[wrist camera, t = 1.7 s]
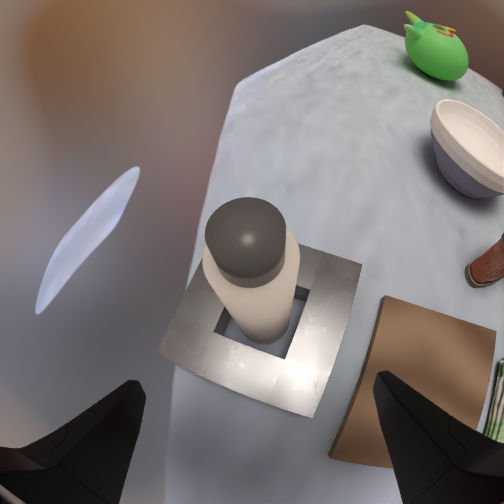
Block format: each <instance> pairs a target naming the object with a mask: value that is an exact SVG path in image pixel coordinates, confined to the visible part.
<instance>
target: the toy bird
mask: <svg viewBox="0 0 504 504" xmlns="http://www.w3.org/2000/svg"><path fill="white" fill-rule="evenodd" d="M406 15H407V16H408V18H409V19H410V21H411V22H412V24H413V26H412V25H409V24H405V25H404V28H405V30H406V31H407V34H406V37H405V46H406V50H407V53H408V55H409V57H410V59H411V60H412V62H413V63H414V64H415V65H416V66H417V67H418V68H419V69H420V70H422V71H423V72H424V73H426V74H428V75H430V76H432V77H434V78H437V79H440V80H446V81H453V80H457V79H459V78H461V77H462V76H463V75H464V74H465V73H466V71H467V68H468V55H467V51H466V49H465V47H464V45H463V43H462V42H461V40H460V39H459V38H458V37H457V36H456V35H455V34H453V33H452V32H451V31H455V30H454V29H451V28H448V27H444V26H440V25H438V24H435V23H425V22H423V21H422V20H421V19H419V18H418V17H417V16H415V15H414V14H412V13H411V12H408V11H406Z"/></svg>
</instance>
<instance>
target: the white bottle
mask: <svg viewBox="0 0 504 504" xmlns="http://www.w3.org/2000/svg"><path fill="white" fill-rule="evenodd" d="M205 240H206V245H205V248H204V252H203V270H204V273H205V276H206V278H207V280H208V282H209V283H210V285H211V286H212V288H213V289H214V291H215V292H216V294H217V295H218V297H219V298H220V300H221V301H222V303H223V304H224V306H225V307H226V309H227V310H228V312H229V313H230V315H231V316H232V317H233V319H234V320H235V322H236V323H237V325H238V326H239V328H240V329H241V330H242V332H243V333H244V335H245V336H246V337H247V338H248V339H249V340H251V341H252V342H254V343H257V344H264V345H265V344H272V343H274V342H276V341H278V340H279V339H281V338H282V337H283V336H284V334H285V333H286V331H287V329H288V326H289V321H290V315H291V310H292V305H293V299H294V293H295V288H296V282H297V276H298V270H299V263H300V251H299V246H298V243H297V241H296V239H295V237H294V235H293V234H292V232H291V231H290V230H289V229H288V228H287V227H286V224H285V220H284V218H283V216H282V214H281V213H280V211H279V210H278V209H277V208H276V207H275V206H274V205H272V204H271V203H269V202H267V201H265V200H262V199H258V198H251V197H245V198H238V199H234V200H231V201H229V202H227V203H225V204H223V205H222V206H220V207H219V208H218V209H217V210H216V211H215V212H214V213H213V214H212V215H211V217H210V218H209V220H208V222H207V225H206V229H205Z"/></svg>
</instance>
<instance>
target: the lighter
mask: <svg viewBox="0 0 504 504" xmlns="http://www.w3.org/2000/svg"><path fill="white" fill-rule="evenodd" d="M465 277H466V280H467V282H468V284H469V285H470V286H471V287H472V288H482V287H487V286H490V285H493V284H494V283H496V282H498V281H499V280H501V279H502V278H504V233H503V234H502V237H501V239H500V240H499V241H498V242H497V243H496V244H495V245H493V246H492V247H491V248H490V249H489V250H488V251H487V252H486V253H484V254H483V255H482V256H480V257H478V258H477V259H475V260H474V261H473V262H471V263H470V264H469V265H468V266H467V267H466V268H465Z"/></svg>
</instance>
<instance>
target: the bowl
mask: <svg viewBox="0 0 504 504" xmlns="http://www.w3.org/2000/svg"><path fill="white" fill-rule="evenodd" d="M430 125H431V136H432V139H433V148H434V152H435V155H436V162H437V166H438V168H439V170H440V172H441V174H442V175H443V177H444V178H445V179H446V180H447V182H448V183H449V184H450V185H451V186H453V187H454V188H455V189H456V190H457V191H459V192H460V193H462V194H464V195H465V196H468V197H470V198H482V197H486V198H489V197H494V196H498V195H503V194H504V132H503V131H502V130H501V129H500V128H499V127H498V126H497V125H496V124H495V123H494V122H493V121H491V120H490V119H489V118H488V117H486V116H485V115H484V114H482V113H481V112H479V111H478V110H476V109H474V108H472V107H471V106H468V105H466V104H464V103H461V102H458V101H455V100H449V99H444V100H440V101H439V102H437V103H436V105H435V107H434V109H433V112H432V116H431V120H430Z"/></svg>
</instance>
